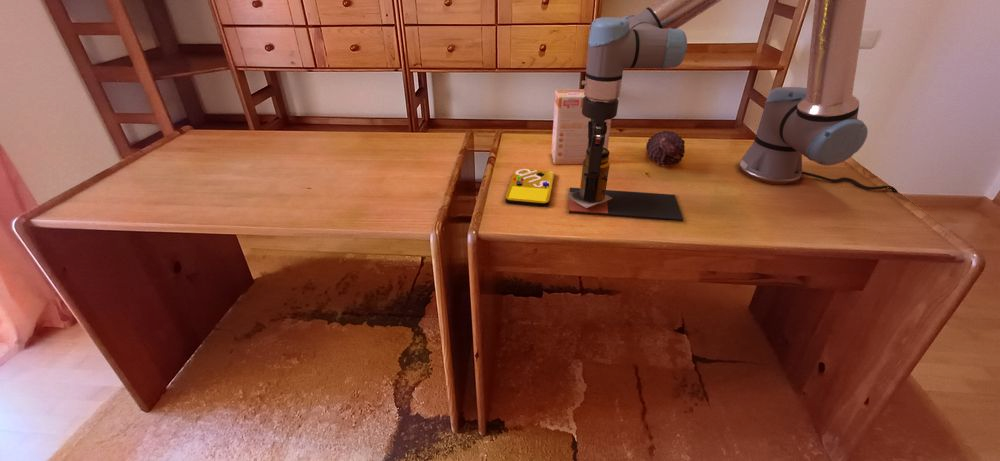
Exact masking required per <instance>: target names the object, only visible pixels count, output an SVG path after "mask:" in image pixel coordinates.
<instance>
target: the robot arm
mask: <svg viewBox="0 0 1000 461" xmlns="http://www.w3.org/2000/svg"><path fill="white" fill-rule="evenodd" d="M720 2H722V0H656V1H654V3H651V5H649V6H647V7H646V8H644V9H642V10H641V11H639V12H637V14H632V15H631V14H630V15H629V14H628V15H625V16H622V17H616V16H615V17H613V16H602V17H601V16H600V17H597V18H595V19H594V20H593V21H592V22H591V25H590V30H589V35H588V41H587V55H586V56H587V57H586V67H585V77H584V78H585V80H582V81H581V85H582V86H584V88H583V89H584V95H585V97H584V98H583V103H582V114H583V115H584V116H585V117H587V118H590V119H591V121H588V138H589V139H588V148H589V147H590V153H589V163H588V172H587V173H584V176H586V183H585V191H584V200H586V201H595V200H596V193H597V185H598V178H599V176H600V167H601V159H602V151H603V145H604V141H605V134H606V133H607V126H606V123H607V122H604V121H605V120H608V119H611V120H612V119H614V118H616V117H617V115H618V108H619V97H620V96H621V89H622V81H623V71H624V70H627V69H628V70H633V69H661V70H664V69H671V68H672V69H673V68H677V67H679V66H680V65H682V63H683V62H684V59H685V57H686V54H687V49H688V38H687V35H686V32H685V31H684V30H683V29H681V28H680V27H682V26H683V25H685V24H687V23H688V22H690V21H691V20H693V19H695V18H696V17H697V16H699V15H701V14H702V13H704V12H705V11H707V10H708V9H710V8H712V7H713V6H714V5H716V4H718V3H720ZM866 6H867V0H814V8H813V16H812V29H811V37H810V48H809V59H808V69H807V81H806V87H803V86H801V87H799V86H779V87H775V88H773V89H772V90H770V91H769V93H768V95H767V98H766V100H765V101H764V107H763V110H762V113H761V116H760V121H759V123H758V126H757V131H756V133H755V137H754V140H753V142H752V144H751V145H750V146H749V147H748V149H747V150H746V152H745V153H744V155H743V156H742V157H741V159H740V161H739V165H738V170H739V171H740V172H741V173H742V174H743V175H744V176H746V177H748V178H749V179H752V180H754V181H757V182H760V183H764V184H769V185H770V184H771V185H777V186H778V185H780V186H783V185H784V186H785V185H793V184H797V183H798V182H799V181H800V180H801V177H802V175H804V176H809V177H813V178H817V179H821V180H824V181H826V182H833V183H837V182H841V181H846V182H847V181H848V182H851V183H853V184H854V185H856V186H858V187H860V188H862V189H865V190H871V191H872V190H882V189H889V190H891V191H892V192H893V193H898V189H896V188H895V187H894V186H891V185H880V186H879V185H878V186H868V185H864V184H862V183H860V182H858V181H856V180H855V179H853V178H851V177H839V178H829V177H826V176H822V175H819V174H815V173H811V172H806V171H803V156H804V157H805V158H807V159H808V160H809V161H812V162H814V163H816V164H819V165H821V166H835V165H838V164H841V163H844V162H845V161H847V160H849V159H850V158H852V157H853V156H854V155H855V154H856V153H858V152H859V151H860V150H861V149H862V147H863V146H864V144H865V142H866V140H867V138H868V133H869V131H868V127H867V125H866V123H864V121H863V120H861V119H858V115H859V109H860V100H859V99H858V98H857V97H856V96H854V95H853V93H854V86H855V80H856V72H857V66H858V61H859V60H858V59H859V52H860V46H861V39H862V34H863V28H864V27H863V26H864V19H865V12H866ZM887 187H889V188H887ZM890 187H891V188H890ZM894 190H895V191H894Z"/></svg>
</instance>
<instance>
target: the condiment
mask: <svg viewBox="0 0 1000 461" xmlns="http://www.w3.org/2000/svg"><path fill="white" fill-rule="evenodd" d="M589 153H590V147H589V148H588V149H587V150H586V156H585V159H584V161H583V164H582V168H581V176H580V177H581V178H580V187H579V188H580V190H579V191H576V192H573V193H570V192H569V193H567V194H565V196H567V197H568V198H569V199H570V198H571V199H572V200H574V201H575V202H577V203H579V204H580V205H582V206H584V207H585V208H588V207H590V206H592V205H595V204H599V203H602V202H605V201H608V200H610V199H612V198H611V197H610V196H608V195H606V194H605V193H606V190H607V186H608V178H609V171H610V161H609V160H610V158H609V157H610V150H609V148H608V149H606V148H604V147H603V151H602V159H601V167H600V176H599V178H598V185H597V193H596V200H595V201H586V200H584V191H585V183H586V176H584V173H587V172H588V163H589Z"/></svg>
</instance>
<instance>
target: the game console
mask: <svg viewBox="0 0 1000 461" xmlns="http://www.w3.org/2000/svg"><path fill="white" fill-rule="evenodd" d="M554 179H555V172H553V171H551V170H544V169H543V170H542V169H541V170H540V169H531V168H529V169H528V168H521V169H517V170H516V171H514V172H513V173H512V176H511V179H510V182H509V185H508V188H507V190H506V194H505V197H504V198H505V199H504V200H505V203H507V204H509V205H515V206H516V205H518V206H528V207H539V208H540V207H541V208H545V207H548V206H549V205H550V201H551V196H552V190H553V185H554Z"/></svg>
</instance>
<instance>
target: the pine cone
mask: <svg viewBox="0 0 1000 461" xmlns="http://www.w3.org/2000/svg"><path fill="white" fill-rule="evenodd" d="M685 143H686V141H685V140H684V139H683V137H682V136H680V135H679V134H678V133H676V132H674V131H669V130H662V131H659V132H657V133H654V134H653V135H652V136H650V138H648V140H647V142H646V146H645V149H646V155H647V156H648V157H649V160H651V161H653V162H654V163H655V164H657V165H658V166H659V167H672V166H676V165H679V164H680V162H681V161H682V160H683V158H684V156H685V155H684V154H685V153H686V152H685V147H686V146H685Z"/></svg>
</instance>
